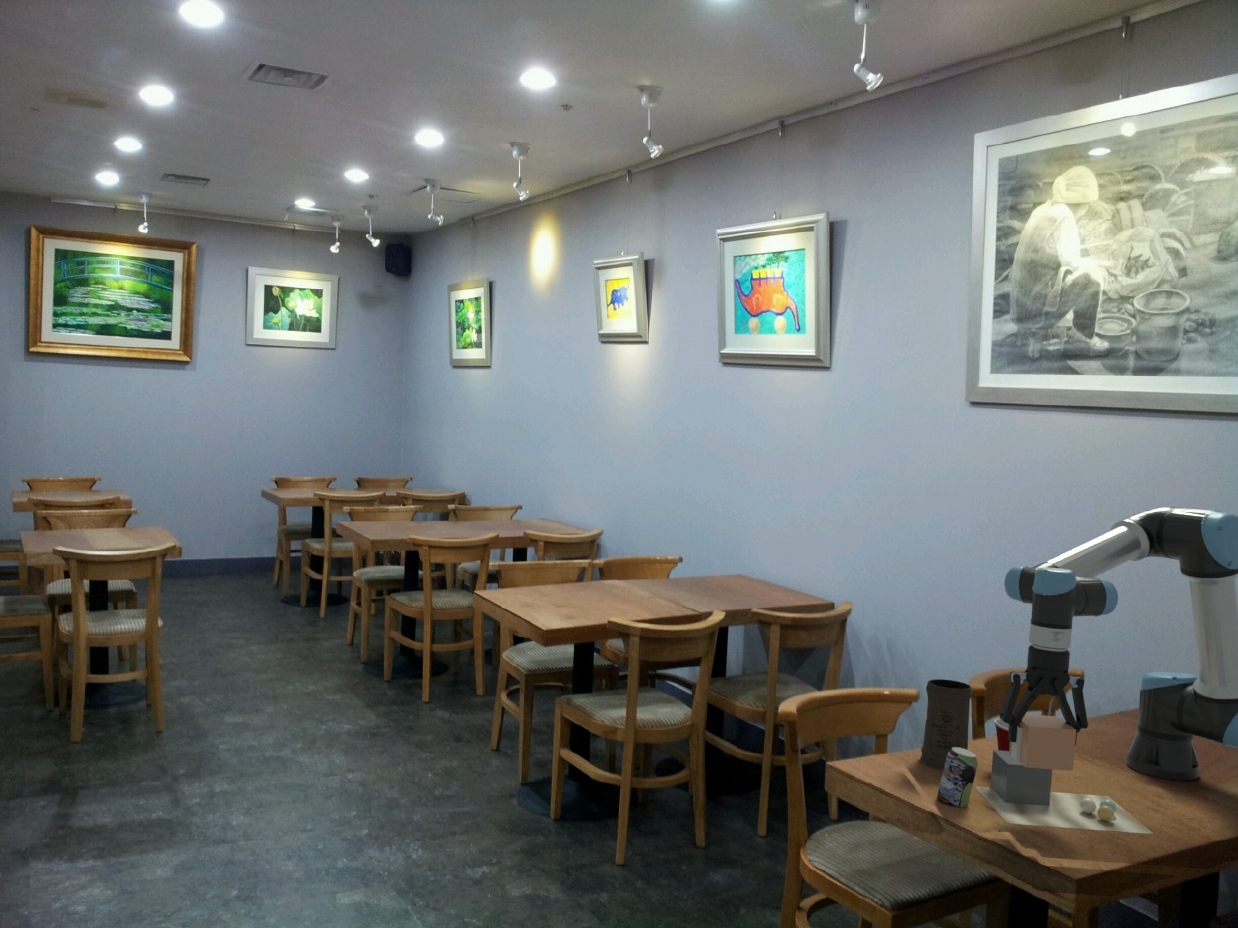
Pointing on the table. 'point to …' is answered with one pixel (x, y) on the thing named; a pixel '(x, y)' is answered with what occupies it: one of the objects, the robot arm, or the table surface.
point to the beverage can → (957, 777)
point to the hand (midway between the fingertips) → (1040, 760)
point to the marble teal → (1108, 804)
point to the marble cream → (1087, 805)
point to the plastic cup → (1002, 734)
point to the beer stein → (945, 720)
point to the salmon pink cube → (1046, 743)
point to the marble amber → (1105, 813)
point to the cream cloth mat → (1063, 813)
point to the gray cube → (1019, 781)
